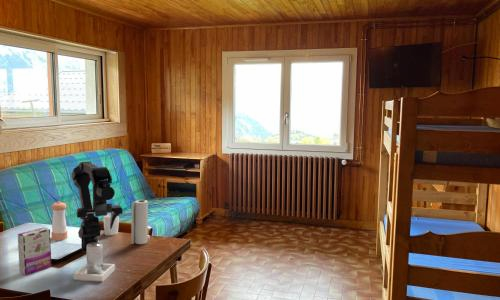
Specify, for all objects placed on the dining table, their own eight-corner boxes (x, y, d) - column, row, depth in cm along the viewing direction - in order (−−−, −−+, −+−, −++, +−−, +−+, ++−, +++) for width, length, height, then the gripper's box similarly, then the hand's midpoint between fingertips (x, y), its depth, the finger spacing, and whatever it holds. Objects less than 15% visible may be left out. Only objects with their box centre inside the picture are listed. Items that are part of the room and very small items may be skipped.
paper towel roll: (148, 240, 203) (149, 199, 200) (146, 244, 196) (146, 202, 194) (134, 240, 202) (134, 199, 200) (131, 244, 196) (131, 202, 194)
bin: (73, 280, 155) (73, 273, 155) (88, 268, 166) (88, 262, 166) (102, 282, 154) (102, 275, 154) (114, 270, 165) (114, 264, 165)
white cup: (104, 236, 207) (104, 217, 206) (102, 232, 214) (102, 214, 213) (120, 234, 210) (120, 216, 209) (117, 230, 217) (117, 212, 216)
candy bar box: (45, 264, 169) (44, 226, 168) (51, 266, 167) (51, 228, 165) (18, 272, 160) (17, 233, 158) (25, 275, 157) (23, 235, 155)
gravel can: (83, 274, 159) (83, 245, 158) (95, 269, 164) (95, 241, 163) (93, 277, 156) (93, 248, 155) (106, 272, 161) (105, 243, 160)
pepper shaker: (70, 237, 203) (69, 201, 201) (56, 241, 197) (56, 203, 195) (61, 235, 207) (61, 199, 205) (48, 238, 201) (47, 201, 199)
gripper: (77, 201, 163) (78, 238, 165) (124, 198, 171) (124, 233, 173) (76, 195, 173) (76, 230, 175) (120, 192, 181) (120, 226, 183)
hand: (99, 230), depth 176 cm, fingers open, 9 cm apart
